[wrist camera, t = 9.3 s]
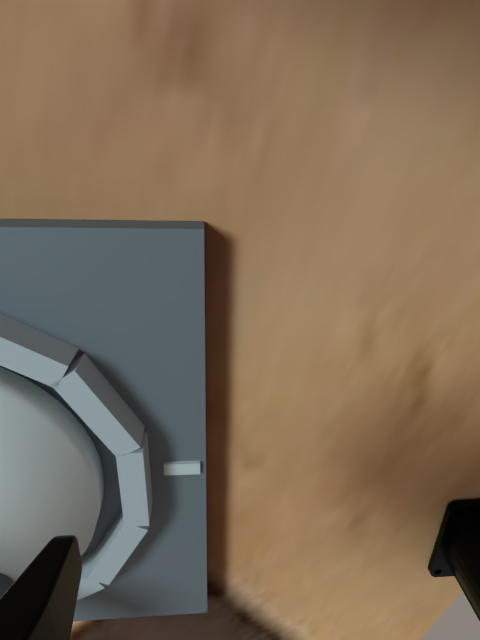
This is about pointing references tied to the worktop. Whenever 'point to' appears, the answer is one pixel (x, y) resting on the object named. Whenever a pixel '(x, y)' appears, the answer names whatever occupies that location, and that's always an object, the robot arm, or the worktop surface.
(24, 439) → the dial knob
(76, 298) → the dial plate
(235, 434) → the worktop surface
